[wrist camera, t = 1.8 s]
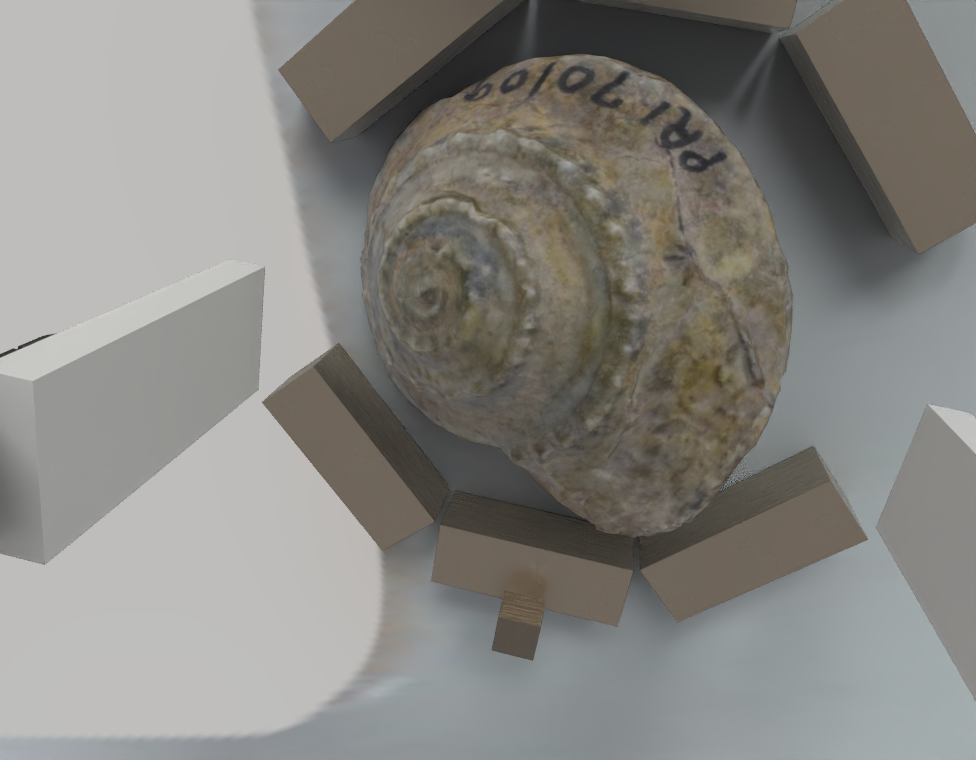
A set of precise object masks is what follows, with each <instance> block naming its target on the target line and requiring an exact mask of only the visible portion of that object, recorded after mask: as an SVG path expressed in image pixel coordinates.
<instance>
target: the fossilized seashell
mask: <svg viewBox="0 0 976 760" xmlns="http://www.w3.org/2000/svg"><path fill="white" fill-rule="evenodd" d="M362 253H363V254H362V256H361V258H360V260H361V264H362V265H361V276H362V282H363V295H362V296H363V299H364V304H365V307H366V311H367V315H368V320H369V324H370V327H371V329H372V332H373V335H374V338H375V344H376V348H377V352H378V354H380V355H381V358H382V360H383V362H384V364H385V367H386V369H387V371H388V375H389V378H390V379H391V380H392V382H393V383H394V384H395V385H396V386H397V387H398V389H399V390H400V391H401V393H402V394H403V395H404V396H405V398H406V399H407V400H408V401H409V402H410V403H412V404H413V405H414V406H416V407H417V408H418V409H419V410H420V411H421V412H422V413H423V414H424V415H425V416H426V417H428V418H429V419H430V420H431V421H432V422H434V423H435V424H436V425H438V426H440V427H442V428H444V429H445V430H447V431H449V432H451V433H453V434H455V435H457V436H459V437H461V438H464V439H466V440H468V441H471V442H473V443H480V444H486V445H490V446H494V447H498V448H501V449H502V450H503V451H504V452H505V454H506V455H507V456H508V457H509V459H510V460H511V461H512V463H513V464H514V465H517V466H520V467H522V468H524V469H525V470H527V471H528V472H529V473H530V474H531V475H532V476H533V478H534V479H535V480H536V481H537V483H538V484H539V485H540V486H541V487H543V488H544V489H545V490H546V491H547V492H548V493H549V494H550V495H551V496H552V497H553V498H555V499H556V500H557V501H558V502H559V503H561V504H562V505H564V506H566V507H568V508H569V509H570V510H571V511H572V512H574V513H576V514H577V515H579V516H580V517H582V518H585V519H587V520H588V521H589V522H590V523H592V524H595V526H596V529H597V530H599V531H602V532H604V533H609V534H619V535H627V536H629V537H632V538H635V537H638V536H640V535H643V536H650V535H654V534H656V533H658V532H669V531H672V530H674V529H676V528H678V527H680V526H681V525H682V523H690V522H691V521H692V520H693V519H694V517H695V516H696V515H697V514H699V513H700V512H701V511H702V510H703V509H704V508H705V507H707V505H708V504H709V502H710V501H711V500H712V499H713V498H714V497H715V495H716V494H717V493H718V492H719V491H720V489H721V488H722V486H723V485H724V484H725V482H726V481H727V479H728V478H729V476H730V475H731V473H732V472H733V471H734V469H735V468H736V467H737V465H738V464H739V463H740V461H741V460H742V459H743V457H744V456H745V455H746V454H747V453H748V452H749V451H750V450H751V449H752V448H753V447H754V446H755V445H756V443H757V441H758V439H759V437H760V435H761V434H762V432H763V430H764V428H765V426H766V425H767V423H768V421H769V418H770V416H771V414H772V411H773V407H774V403H775V399H776V397H777V395H778V393H779V392H780V379H781V377H782V376H783V374H784V373H785V372H786V364H787V359H788V356H789V347H790V339H791V329H792V299H793V295H792V290H791V286H790V282H789V279H788V263H787V261H786V259H785V257H784V255H783V253H782V250H781V248H780V246H779V243H778V239H777V235H776V231H775V227H774V222H773V218H772V215H771V212H770V209H769V206H768V204H767V202H766V200H765V198H764V195H763V194H762V192H761V190H760V188H759V186H758V184H757V182H756V180H755V178H754V176H753V174H752V172H751V170H750V168H749V166H748V165H747V163H746V161H745V159H744V157H743V156H742V154H741V153H740V151H739V150H738V149H737V148H736V147H735V145H734V144H733V143H732V142H731V141H730V140H728V139H727V138H726V137H725V135H724V134H723V132H722V130H721V129H720V127H719V126H718V125H717V124H716V123H715V122H714V121H713V120H712V119H711V118H710V117H709V116H708V115H707V114H706V113H705V112H704V111H703V110H702V109H701V108H700V107H699V106H698V105H697V104H696V103H695V102H694V101H693V100H692V99H691V98H689V97H688V96H687V95H686V94H684V93H683V92H682V91H681V90H680V89H679V88H678V87H676V86H675V85H674V84H673V83H671V82H669V81H668V80H666V79H664V78H663V77H661V76H659V75H657V74H654V73H651V72H648V71H645V70H642V69H640V68H637V67H635V66H632V65H630V64H628V63H625V62H622V61H619V60H615V59H612V58H608V57H605V56H595V55H590V54H572V55H563V56H551V57H539V58H532V59H529V60H525V61H522V62H519V63H516V64H513V65H509V66H506V67H503V68H501V69H500V70H498V71H497V72H496V73H494V74H492V75H490V76H488V77H486V78H484V79H482V80H480V81H478V82H476V83H474V84H472V85H470V86H468V87H466V88H465V89H463V90H462V91H460V92H459V93H458V94H456V95H455V96H453V97H450V98H445V99H441V100H439V101H437V102H435V103H434V104H432V105H430V106H429V107H427V108H425V109H423V110H422V111H421V112H420V113H419V114H418V115H417V116H416V117H415V118H414V120H413V121H412V122H411V123H410V124H409V125H408V126H407V127H406V129H405V130H404V131H403V132H402V133H401V134H400V135H399V136H398V138H397V139H396V141H395V142H394V144H393V145H392V147H391V149H390V151H389V153H388V155H387V157H386V160H385V162H384V164H383V167H382V169H380V171H379V173H378V175H377V176H376V179H375V182H374V184H373V187H372V190H371V193H370V196H369V202H368V213H367V228H366V232H365V247H364V249H363V251H362Z"/></svg>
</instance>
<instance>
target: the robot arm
mask: <svg viewBox="0 0 976 760" xmlns="http://www.w3.org/2000/svg"><path fill="white" fill-rule="evenodd" d="M264 276H265V266H260V265H255V264H250V263H245V262H241V261H236V260H231V259H229V260H227V261H224V262H222V263H219V264H217V265H215V266H212V267H210V268H208V269H206V270H203V271H201V272H198V273H197V274H194V275H192V276H189V277H187V278H185V279H182V280H180V281H178V282H175V283H173V284H171V285H168V286H166V287H164V288H161V289H159V290H157V291H154V292H152V293H150V294H147V295H145V296H143V297H140V298H138V299H136V300H133V301H131V302H129V303H126V304H124V305H122V306H119V307H117V308H115V309H113V310H110V311H108V312H105V313H103V314H101V315H98V316H96V317H94V318H92V319H89V320H87V321H85V322H82V323H80V324H78V325H75V326H73V327H71V328H68V329H66V330H64V331H61V332H59V333H56V334H51V335H46V336H42V337H39V338H37V339H35V340H32V341H30V342H28V343H25V344H23V345H21V346H18V349H11V350H9V351H7V352H4V353H2V354H0V553H1V554H4V555H8V556H12V557H16V558H20V559H24V560H28V561H32V562H36V563H40V564H44V565H45V564H47V563H48V562H49V561H50V560H51V559H53V558H54V557H55V556H56V555H57V554H59V553H60V552H61V551H62V550H64V549H65V548H66V547H67V546H68V545H70V544H71V543H72V542H73V541H74V540H76V539H77V538H78V537H79V536H81V535H82V534H83V533H84V532H86V531H87V530H88V529H89V528H90V527H92V526H93V525H94V524H95V523H96V522H98V521H99V520H100V519H101V518H102V517H104V516H105V515H106V514H107V513H109V512H110V511H111V510H112V509H114V508H115V507H116V506H117V505H118V504H120V503H121V502H122V501H123V500H124V499H126V498H127V497H128V496H129V495H131V494H132V493H133V492H134V491H135V490H137V489H138V488H139V487H140V486H142V485H143V484H144V483H145V482H146V481H148V480H149V479H150V478H151V477H152V476H154V475H155V474H156V473H157V472H159V471H160V470H161V469H162V468H164V467H165V466H166V465H167V464H168V463H169V462H171V461H172V460H173V459H174V458H176V457H177V456H178V455H179V454H181V453H182V452H183V451H184V450H185V449H187V448H188V447H189V446H190V445H192V444H193V443H194V442H195V441H196V440H198V439H199V438H200V437H201V436H202V435H204V434H205V433H206V432H207V431H209V430H210V429H211V428H212V427H213V426H215V425H216V424H217V423H218V422H220V421H221V420H222V419H223V418H224V417H226V416H227V415H228V414H229V413H231V412H232V411H233V410H234V409H235V408H237V407H238V406H239V405H240V404H241V403H243V402H244V401H245V400H246V399H247V398H249V397H250V396H251V395H252V394H253V393H255V392H256V391H257V390H258V386H259V368H260V349H261V331H262V313H263V294H264ZM876 529H877V530H878V532H879V534H880V536H881V537H882V539H883V541H884V543H885V544H886V546H887V548H888V550H889V551H890V553H891V555H892V557H893V558H894V560H895V562H896V563H897V565H898V567H899V569H900V570H901V572H902V574H903V576H904V577H905V579H906V581H907V583H908V584H909V586H910V588H911V590H912V591H913V593H914V595H915V597H916V598H917V600H918V602H919V603H920V605H921V607H922V609H923V610H924V612H925V614H926V616H927V617H928V619H929V621H930V623H931V624H932V626H933V628H934V630H935V631H936V633H937V635H938V637H939V638H940V640H941V642H942V643H943V645H944V647H945V649H946V650H947V652H948V654H949V656H950V657H951V659H952V661H953V663H954V664H955V666H956V668H957V670H958V671H959V673H960V675H961V677H962V678H963V680H964V682H965V683H966V685H967V687H968V689H969V690H970V692H971V694H972V696H973V697H974V699H975V701H976V418H975V417H974V416H973V415H972V414H970V413H968V412H964V411H959V410H954V409H949V408H944V407H940V406H935V405H930V404H927V407H926V409H925V411H924V414H923V416H922V418H921V421H920V423H919V426H918V428H917V430H916V433H915V435H914V438H913V440H912V442H911V445H910V447H909V450H908V452H907V454H906V457H905V459H904V462H903V464H902V466H901V469H900V471H899V474H898V476H897V478H896V481H895V483H894V486H893V488H892V490H891V493H890V495H889V498H888V500H887V502H886V505H885V507H884V509H883V512H882V514H881V517H880V519H879V521H878V524H877V526H876Z"/></svg>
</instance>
